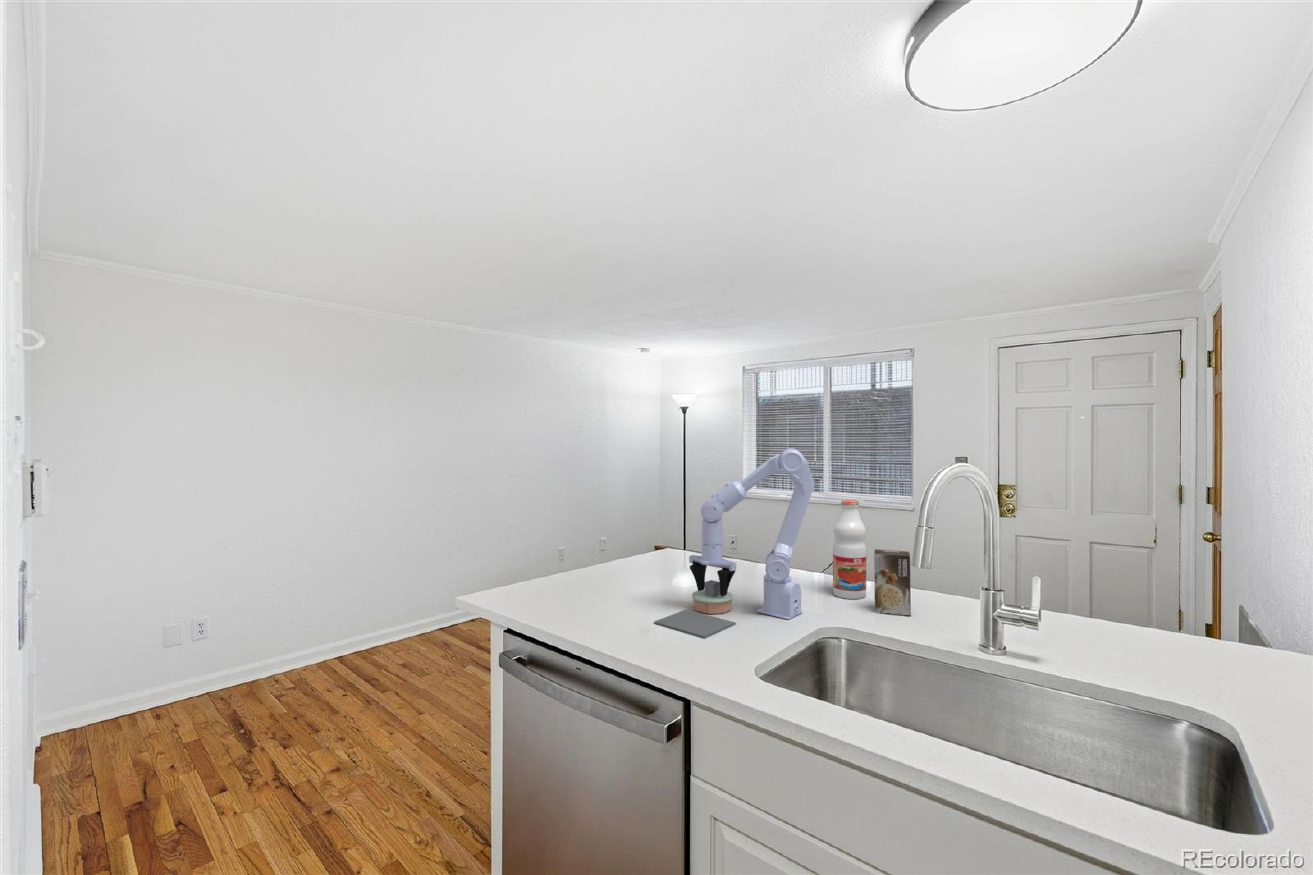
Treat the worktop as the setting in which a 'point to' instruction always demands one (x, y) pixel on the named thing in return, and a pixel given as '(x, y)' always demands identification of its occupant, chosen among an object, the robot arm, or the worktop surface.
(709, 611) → the bowl
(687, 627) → the mat
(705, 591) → the lid
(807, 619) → the worktop surface
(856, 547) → the fruit juice
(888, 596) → the coffee box
